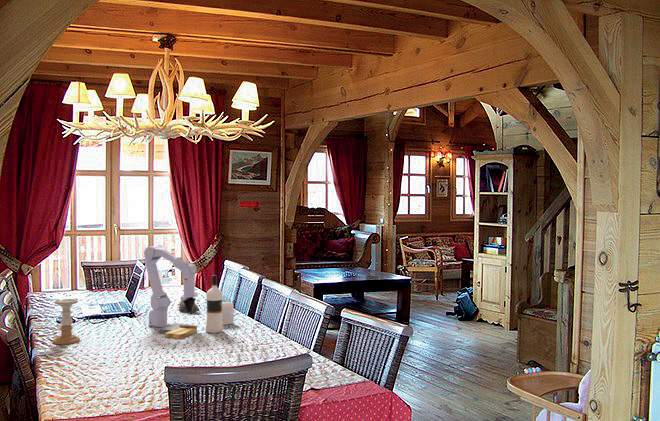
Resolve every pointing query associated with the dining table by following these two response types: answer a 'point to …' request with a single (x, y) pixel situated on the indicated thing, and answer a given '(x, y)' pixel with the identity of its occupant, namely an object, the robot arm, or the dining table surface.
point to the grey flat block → (170, 327)
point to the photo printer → (227, 313)
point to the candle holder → (66, 323)
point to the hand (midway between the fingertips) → (189, 311)
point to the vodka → (214, 308)
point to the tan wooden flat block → (181, 331)
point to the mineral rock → (183, 308)
